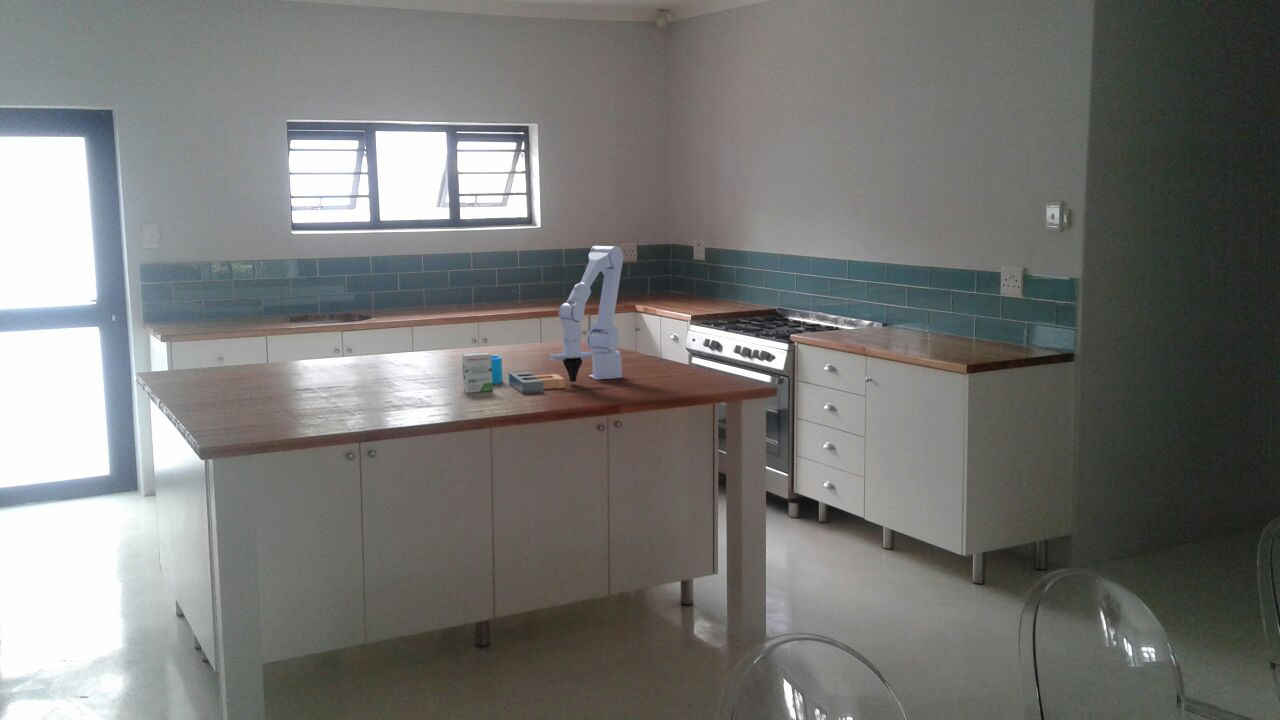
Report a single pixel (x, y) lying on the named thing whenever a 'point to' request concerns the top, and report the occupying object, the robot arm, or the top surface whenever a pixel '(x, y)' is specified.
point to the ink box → (477, 372)
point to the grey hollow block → (525, 382)
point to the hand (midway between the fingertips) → (572, 381)
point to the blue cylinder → (496, 369)
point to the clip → (551, 381)
